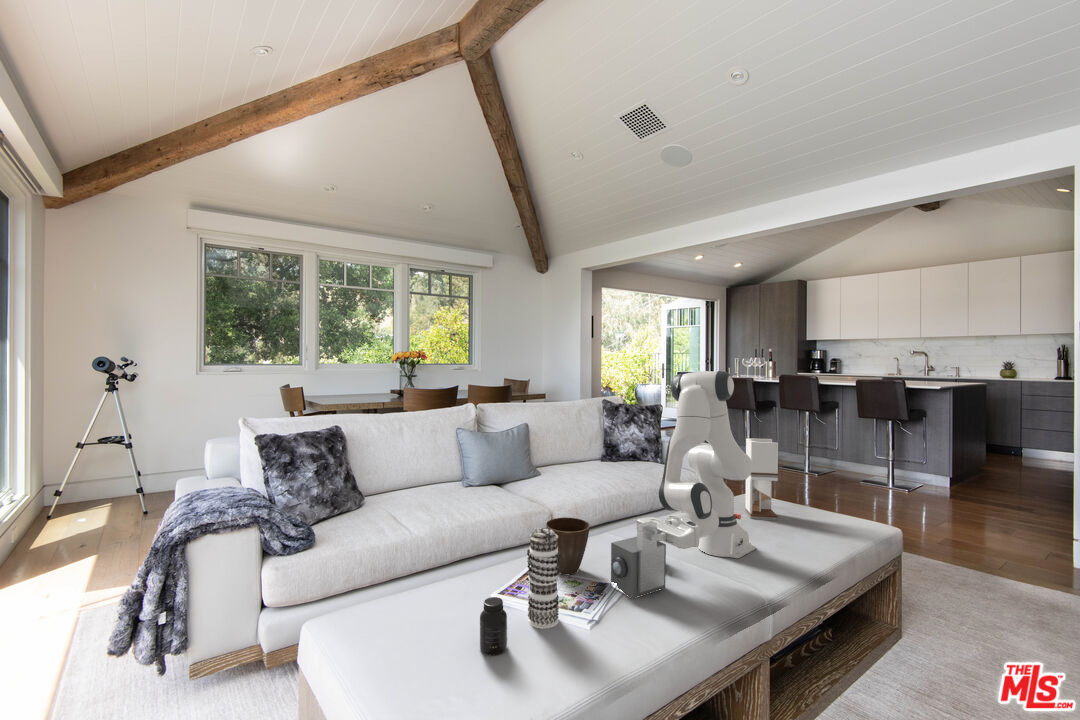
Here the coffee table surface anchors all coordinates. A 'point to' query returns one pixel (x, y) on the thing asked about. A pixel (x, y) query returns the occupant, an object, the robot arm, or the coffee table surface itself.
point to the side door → (649, 558)
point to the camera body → (629, 566)
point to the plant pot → (570, 542)
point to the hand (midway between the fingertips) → (646, 536)
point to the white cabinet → (761, 478)
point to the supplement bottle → (493, 627)
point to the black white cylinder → (543, 578)
